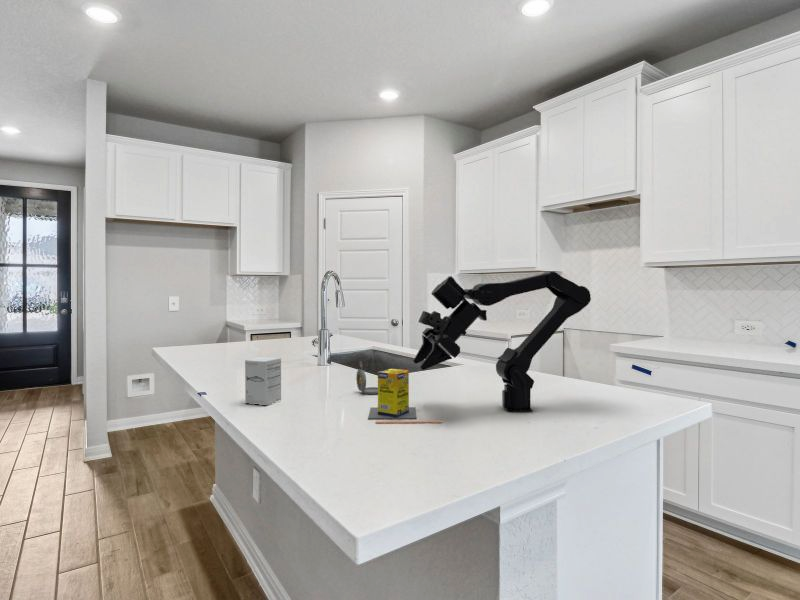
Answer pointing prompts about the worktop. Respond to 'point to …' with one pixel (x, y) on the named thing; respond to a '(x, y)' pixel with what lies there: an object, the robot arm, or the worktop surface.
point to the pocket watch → (364, 382)
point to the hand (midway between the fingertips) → (417, 365)
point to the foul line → (405, 422)
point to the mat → (374, 415)
